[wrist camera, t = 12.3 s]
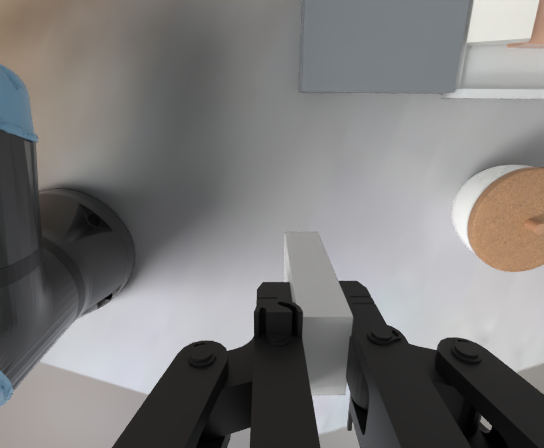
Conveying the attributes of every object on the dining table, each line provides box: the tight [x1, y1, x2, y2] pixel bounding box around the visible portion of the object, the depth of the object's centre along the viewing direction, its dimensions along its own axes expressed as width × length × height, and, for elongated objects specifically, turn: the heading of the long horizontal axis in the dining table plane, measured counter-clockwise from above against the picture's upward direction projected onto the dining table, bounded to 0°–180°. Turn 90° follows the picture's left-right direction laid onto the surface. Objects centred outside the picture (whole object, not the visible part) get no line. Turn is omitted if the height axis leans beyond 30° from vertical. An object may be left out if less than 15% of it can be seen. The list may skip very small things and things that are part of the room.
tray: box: [442, 0, 544, 99], centre depth 33 cm, size 15×15×4 cm
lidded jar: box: [451, 165, 544, 272], centre depth 36 cm, size 11×11×9 cm
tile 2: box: [467, 0, 539, 46], centre depth 32 cm, size 5×5×2 cm
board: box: [299, 0, 470, 93], centre depth 33 cm, size 15×14×3 cm
